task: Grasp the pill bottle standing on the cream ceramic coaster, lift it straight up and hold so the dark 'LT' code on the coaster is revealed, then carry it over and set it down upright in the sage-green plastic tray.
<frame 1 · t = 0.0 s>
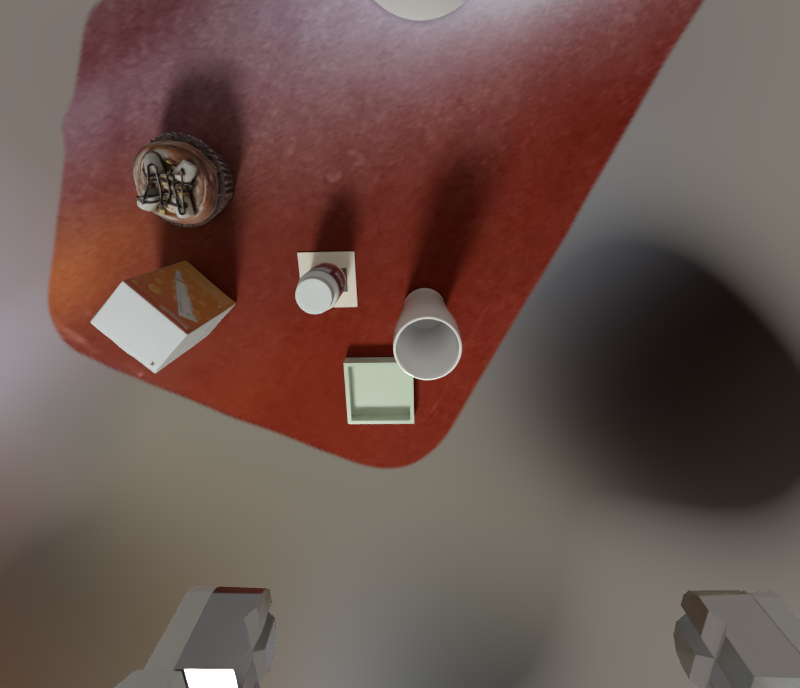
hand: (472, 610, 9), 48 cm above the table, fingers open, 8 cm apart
code coaster: (328, 280, 55), on the table
drinking glass: (424, 306, 56), on the table
sage tray: (380, 387, 60), on the table
cupcake: (202, 181, 52), on the table
pill bottle: (328, 280, 55), resting on code coaster
small box: (198, 297, 57), on the table
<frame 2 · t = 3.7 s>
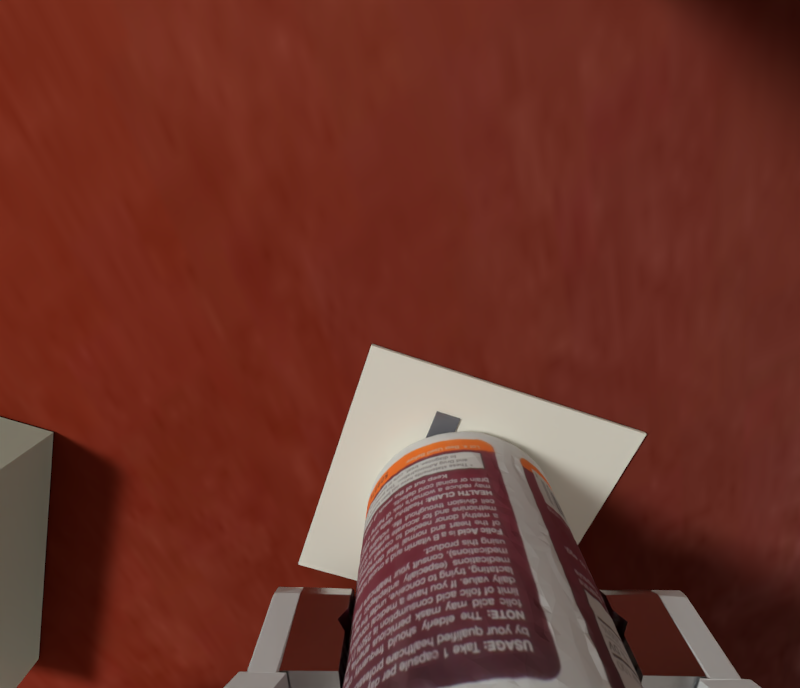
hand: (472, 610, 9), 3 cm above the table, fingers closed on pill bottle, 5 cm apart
code coaster: (458, 501, 12), on the table
pill bottle: (458, 500, 12), resting on code coaster, touching gripper
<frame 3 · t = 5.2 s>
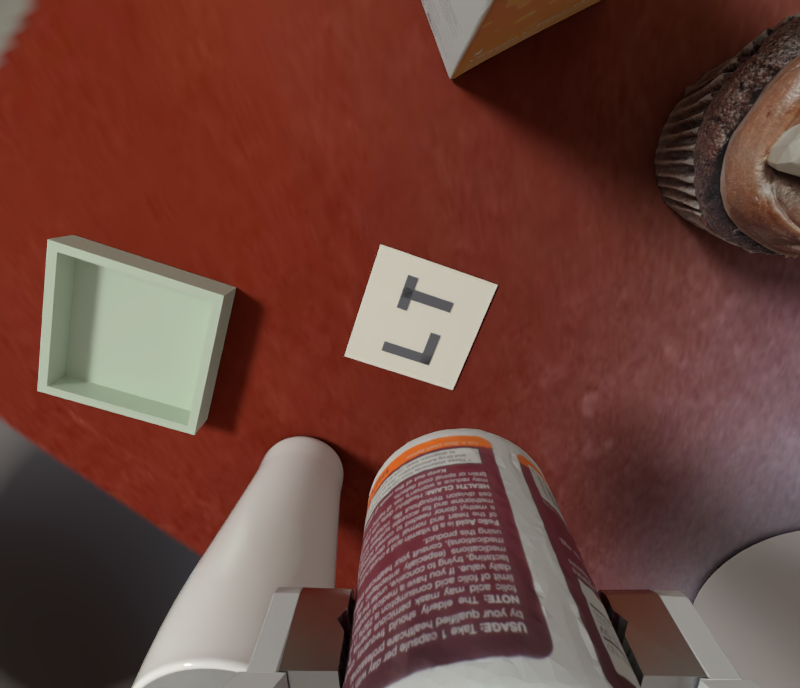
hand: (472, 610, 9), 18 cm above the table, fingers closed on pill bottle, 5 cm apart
code coaster: (418, 321, 26), on the table
drinking glass: (305, 464, 30), on the table
sage tray: (145, 333, 26), on the table
cupcake: (727, 147, 23), on the table
pill bottle: (457, 496, 12), point 15 cm above the table, touching gripper
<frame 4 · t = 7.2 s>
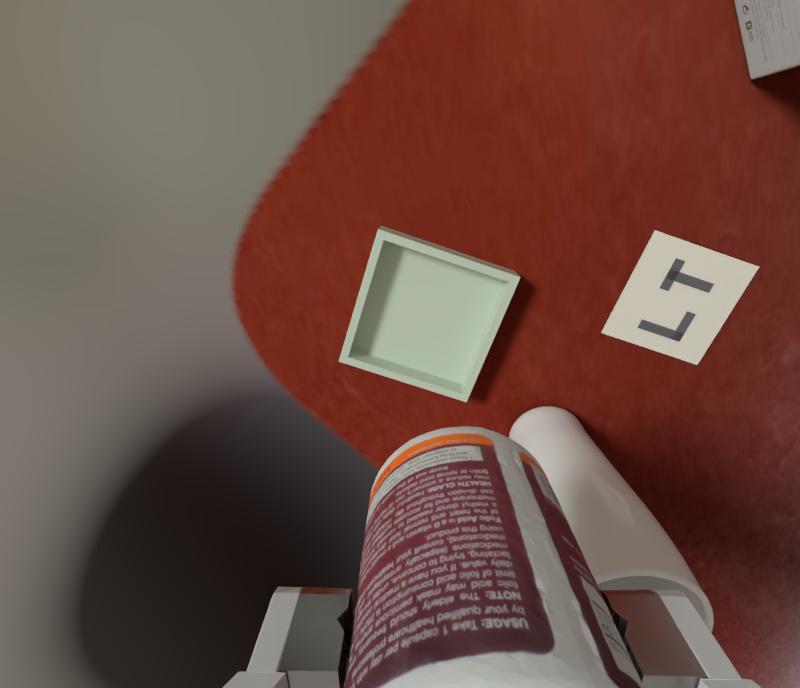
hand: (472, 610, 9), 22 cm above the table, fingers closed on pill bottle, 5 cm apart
code coaster: (676, 300, 28), on the table
drinking glass: (543, 433, 33), on the table
sage tray: (425, 312, 30), on the table
pill bottle: (458, 494, 12), point 19 cm above the table, touching gripper
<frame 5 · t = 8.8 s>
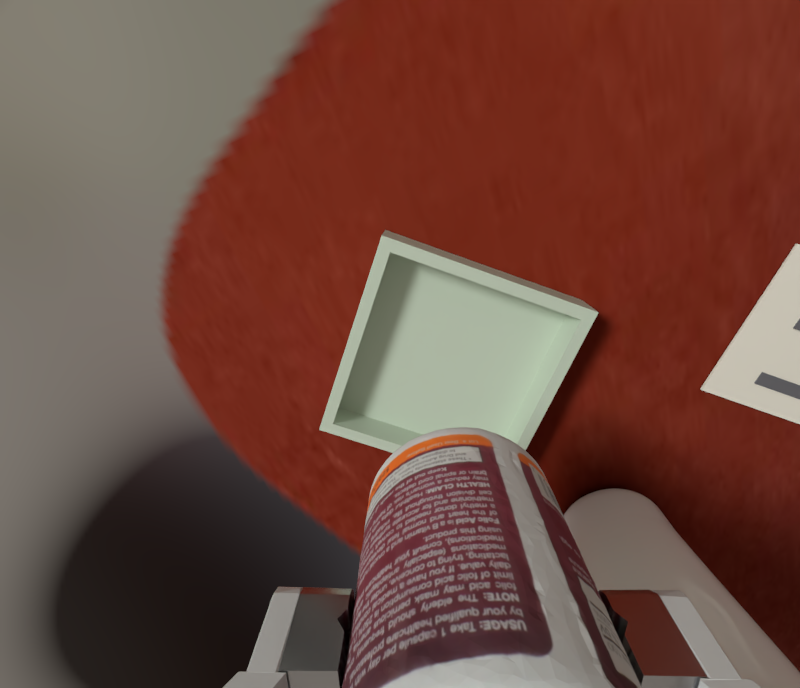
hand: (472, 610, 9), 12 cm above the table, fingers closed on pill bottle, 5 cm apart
drinking glass: (604, 521, 23), on the table
sage tray: (447, 357, 20), on the table
pill bottle: (457, 495, 12), point 9 cm above the table, touching gripper
when the fingers open (5 cm above the table, at t = 10.4 s): pill bottle stays where it is, resting on sage tray.
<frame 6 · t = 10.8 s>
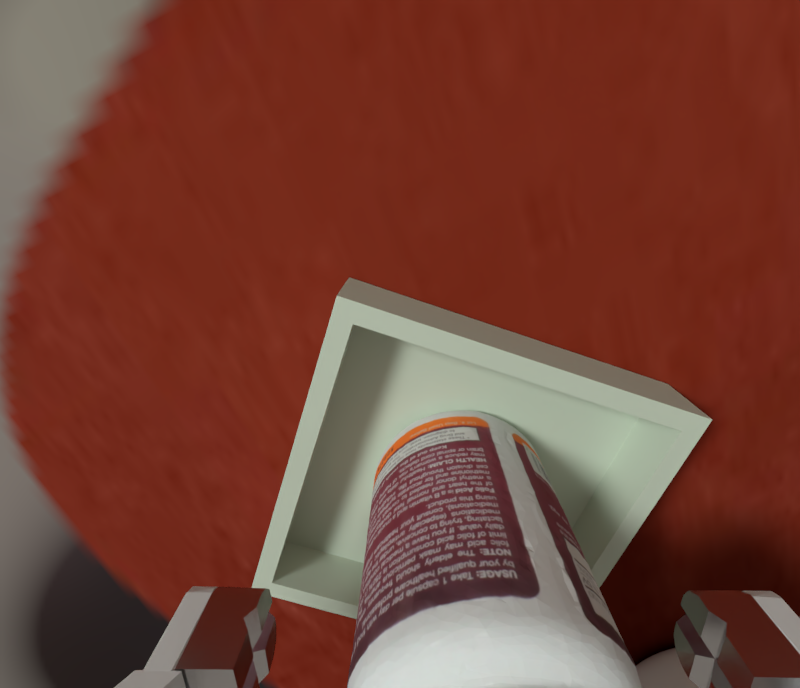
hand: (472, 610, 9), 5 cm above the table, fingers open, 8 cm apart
drinking glass: (680, 681, 16), on the table
sage tray: (452, 468, 13), on the table
pill bottle: (457, 474, 13), resting on sage tray
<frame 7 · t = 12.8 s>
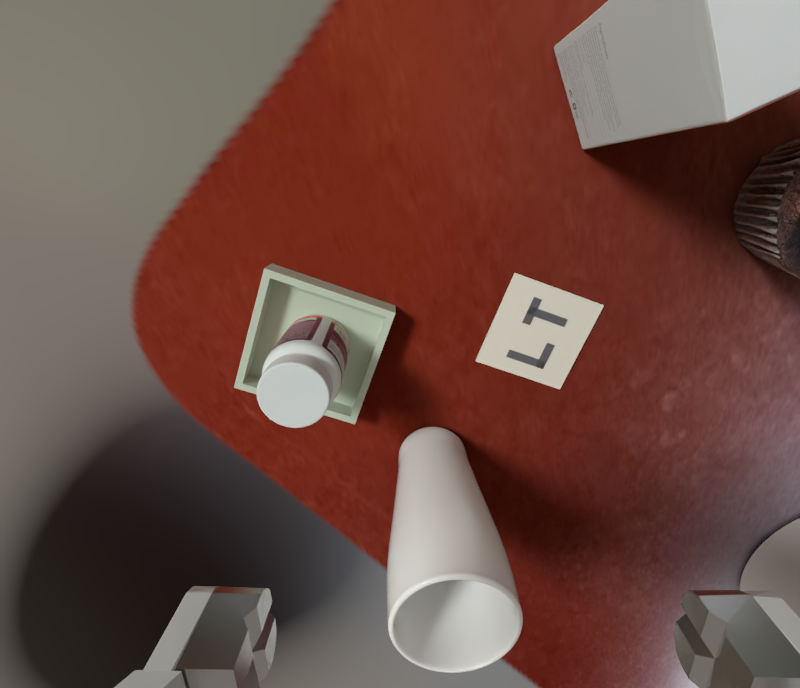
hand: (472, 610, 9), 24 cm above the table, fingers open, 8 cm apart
code coaster: (538, 333, 32), on the table
drinking glass: (431, 450, 36), on the table
sage tray: (317, 342, 32), on the table
cupcake: (789, 201, 30), on the table
pill bottle: (318, 343, 32), resting on sage tray
small box: (628, 71, 27), on the table
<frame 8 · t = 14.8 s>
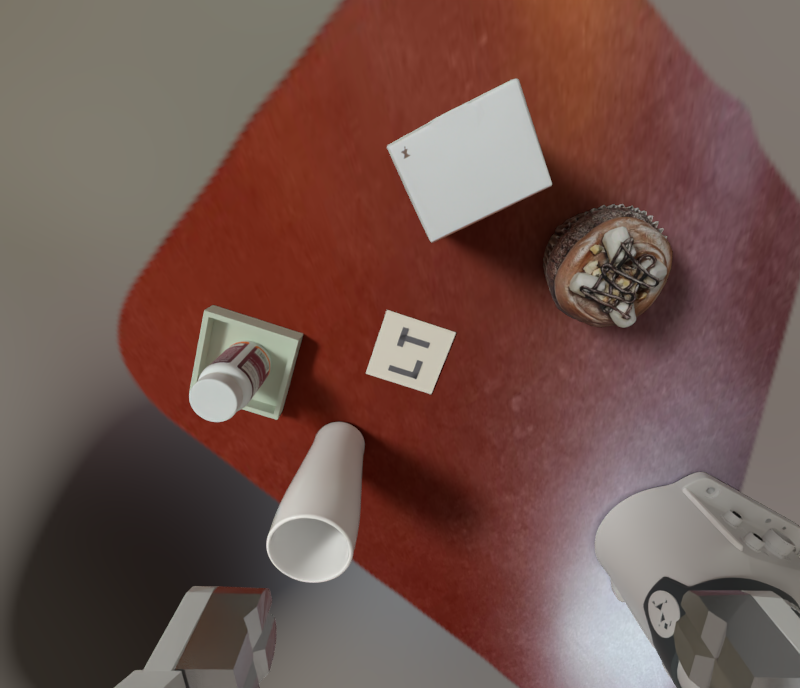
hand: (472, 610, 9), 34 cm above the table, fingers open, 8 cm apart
code coaster: (409, 353, 44), on the table
drinking glass: (341, 439, 48), on the table
sage tray: (249, 360, 44), on the table
cupcake: (585, 256, 40), on the table
pill bottle: (249, 361, 44), resting on sage tray
small box: (452, 170, 38), on the table
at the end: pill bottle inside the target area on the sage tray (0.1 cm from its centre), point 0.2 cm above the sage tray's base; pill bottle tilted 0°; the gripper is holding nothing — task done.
